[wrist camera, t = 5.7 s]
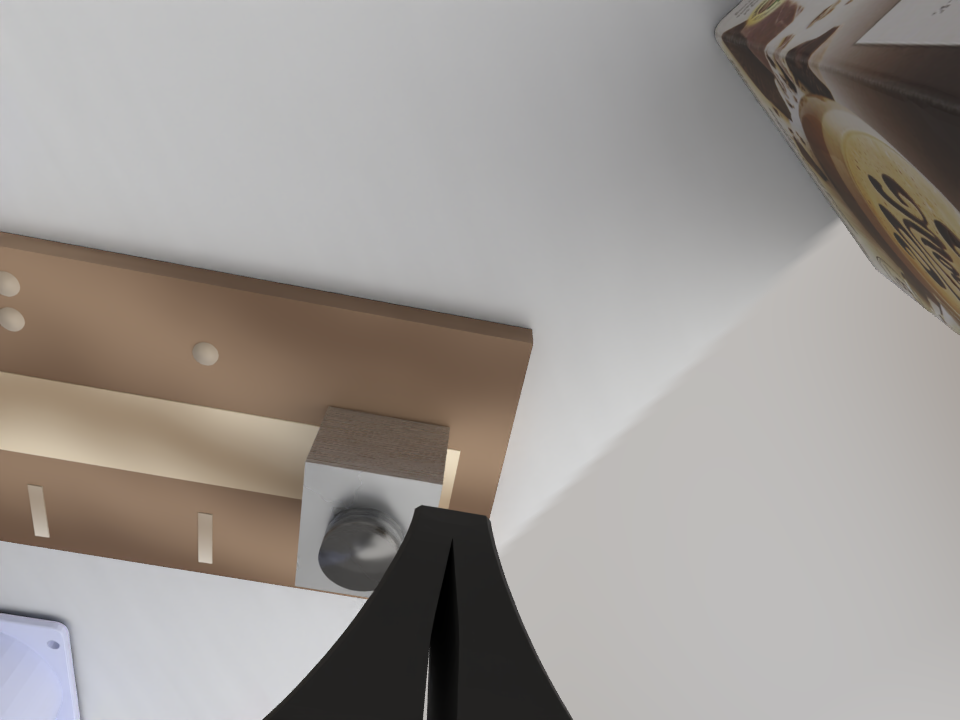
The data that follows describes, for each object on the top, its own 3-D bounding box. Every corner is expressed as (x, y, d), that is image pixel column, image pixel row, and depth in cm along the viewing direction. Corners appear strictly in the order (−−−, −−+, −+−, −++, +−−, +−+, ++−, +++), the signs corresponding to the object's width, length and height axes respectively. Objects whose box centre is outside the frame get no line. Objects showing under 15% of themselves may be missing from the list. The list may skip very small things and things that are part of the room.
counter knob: (427, 540, 25) (414, 630, 22) (317, 522, 25) (286, 610, 22) (450, 427, 23) (439, 507, 20) (328, 406, 23) (296, 483, 19)
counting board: (466, 595, 28) (464, 616, 27) (-210, 486, 27) (-236, 504, 26) (532, 329, 23) (533, 344, 22) (-320, 172, 21) (-358, 181, 20)
